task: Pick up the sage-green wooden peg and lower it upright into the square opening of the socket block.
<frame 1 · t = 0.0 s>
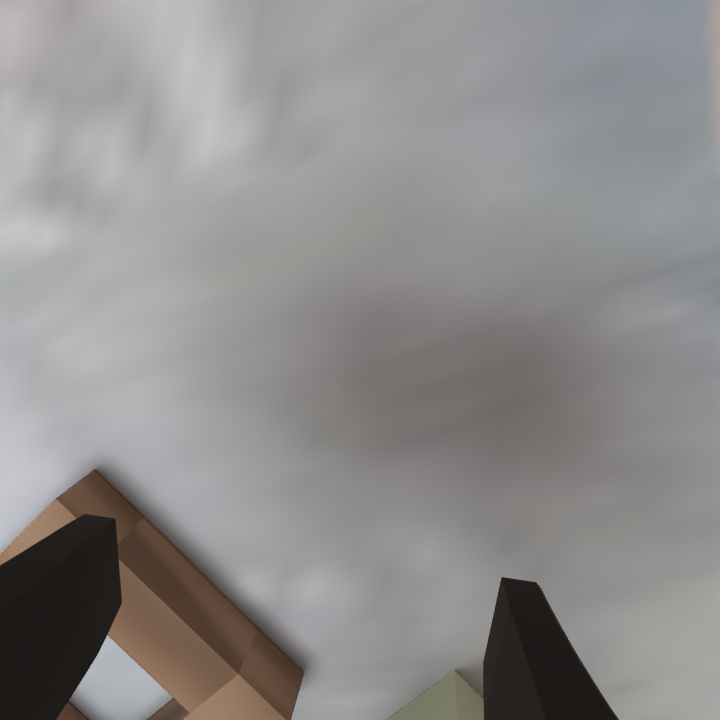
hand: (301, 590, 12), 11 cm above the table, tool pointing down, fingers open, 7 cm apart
socket block: (108, 655, 25), on the table
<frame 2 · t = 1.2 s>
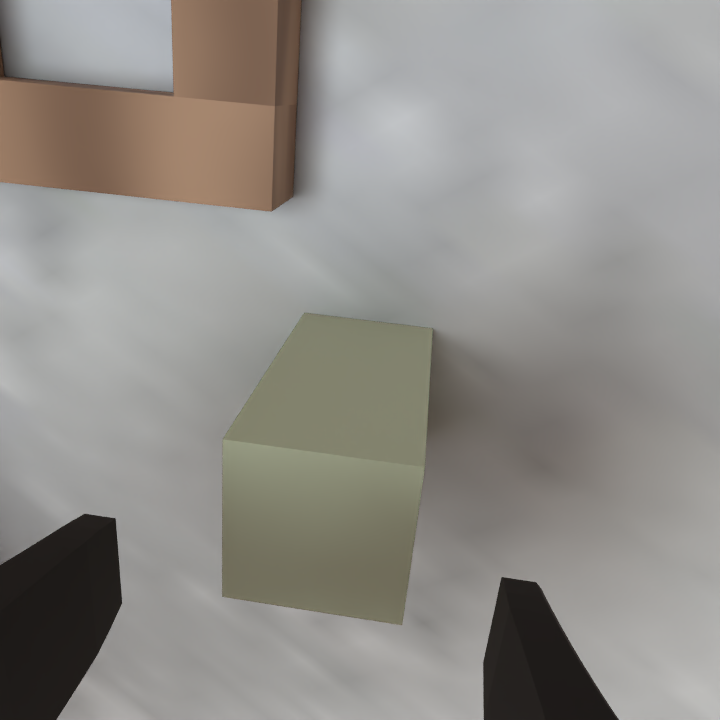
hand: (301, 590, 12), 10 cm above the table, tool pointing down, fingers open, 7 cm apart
peg: (362, 379, 21), on the table
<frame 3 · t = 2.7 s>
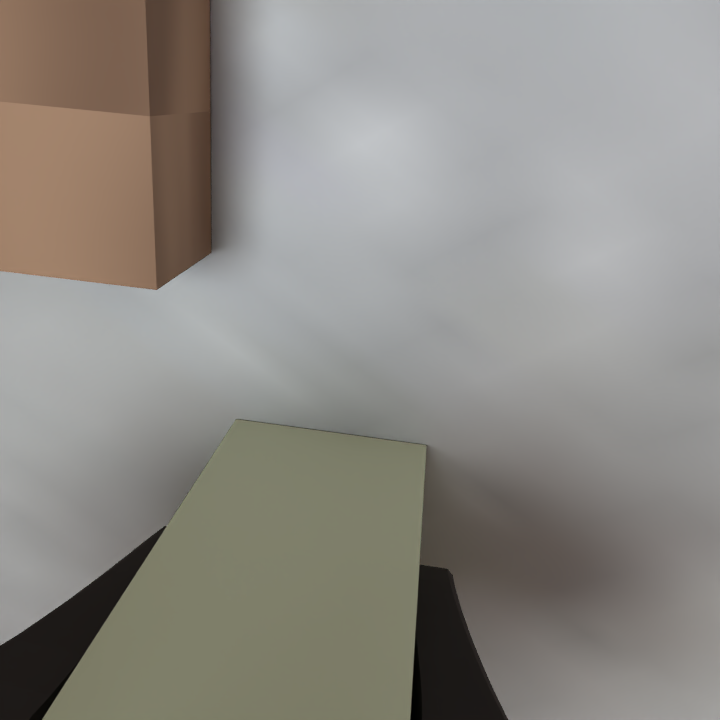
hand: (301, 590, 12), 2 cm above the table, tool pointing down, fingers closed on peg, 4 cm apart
peg: (324, 511, 14), on the table, touching gripper
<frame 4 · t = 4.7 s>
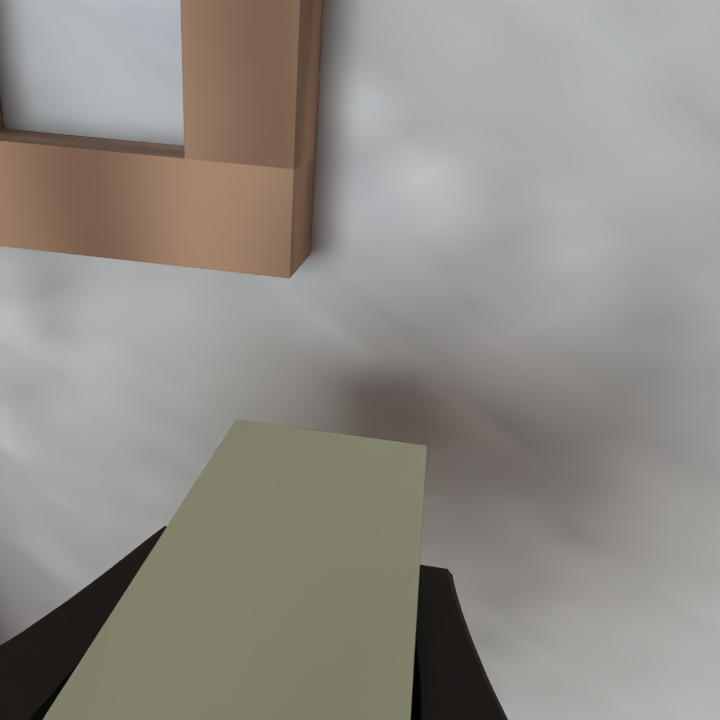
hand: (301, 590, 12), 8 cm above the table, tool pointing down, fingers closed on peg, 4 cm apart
socket block: (101, 11, 16), on the table
peg: (324, 512, 14), point 5 cm above the table, touching gripper
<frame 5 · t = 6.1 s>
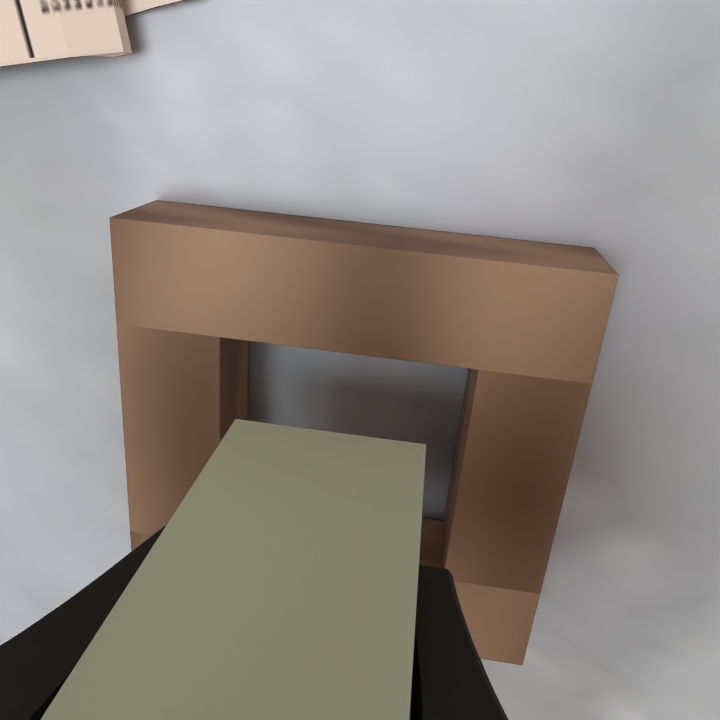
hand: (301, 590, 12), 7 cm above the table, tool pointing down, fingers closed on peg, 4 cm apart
socket block: (351, 418, 18), on the table
peg: (324, 511, 14), point 4 cm above the table, touching gripper
when the fingers open (4 cm above the table, at t = 7.1 s): peg drops 2 cm, resting in socket block.
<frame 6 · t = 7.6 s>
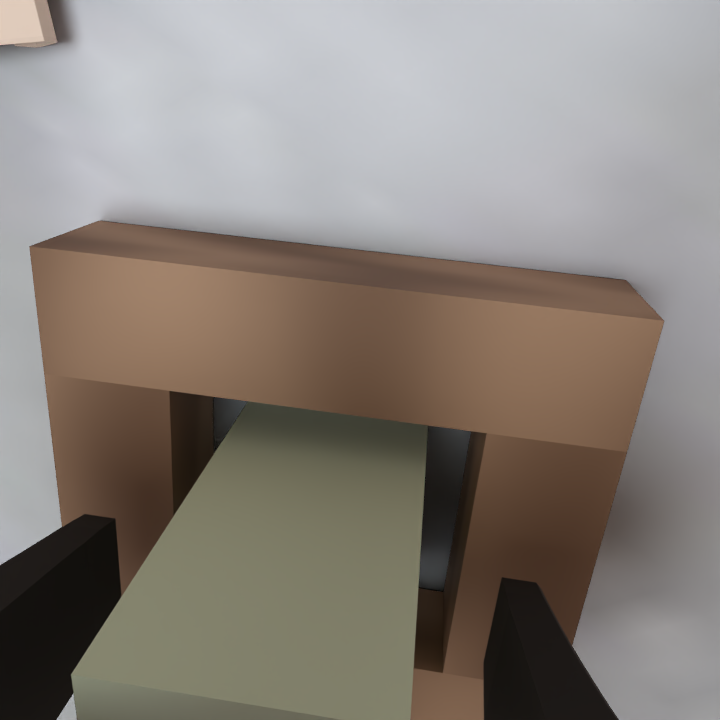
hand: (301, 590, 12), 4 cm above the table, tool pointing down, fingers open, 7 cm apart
socket block: (335, 475, 16), on the table
peg: (336, 474, 16), resting in socket block
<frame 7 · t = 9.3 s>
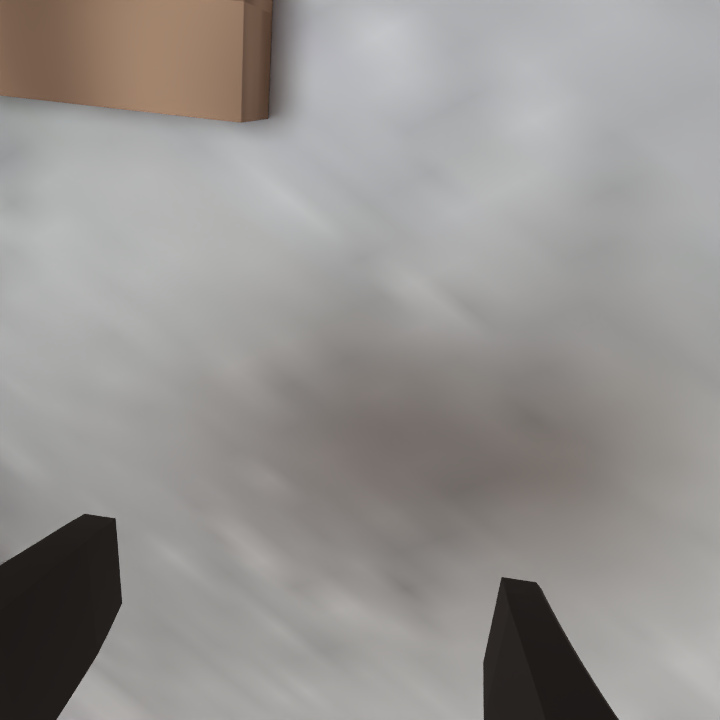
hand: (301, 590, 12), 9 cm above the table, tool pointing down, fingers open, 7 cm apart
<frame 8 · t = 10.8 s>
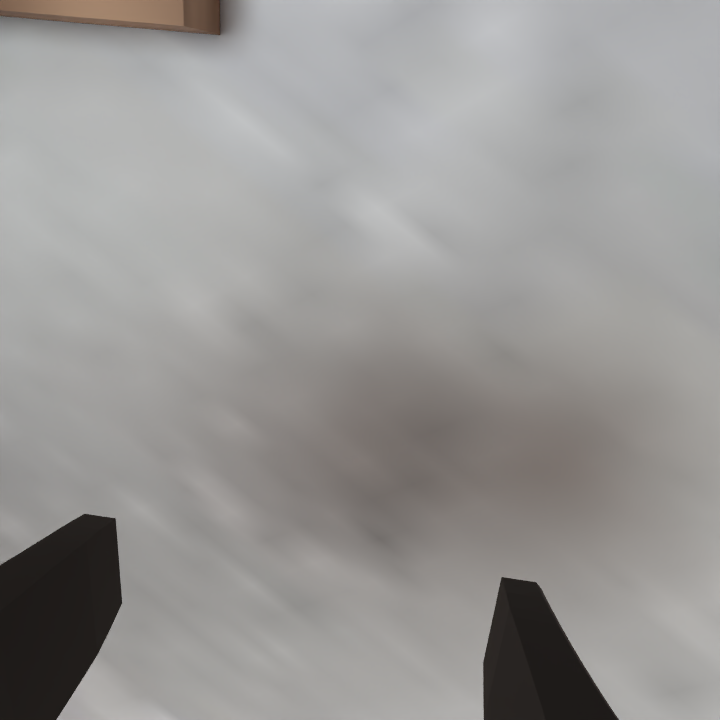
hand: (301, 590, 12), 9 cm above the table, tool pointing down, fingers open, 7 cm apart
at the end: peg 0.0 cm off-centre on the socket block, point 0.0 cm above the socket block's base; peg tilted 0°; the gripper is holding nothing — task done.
